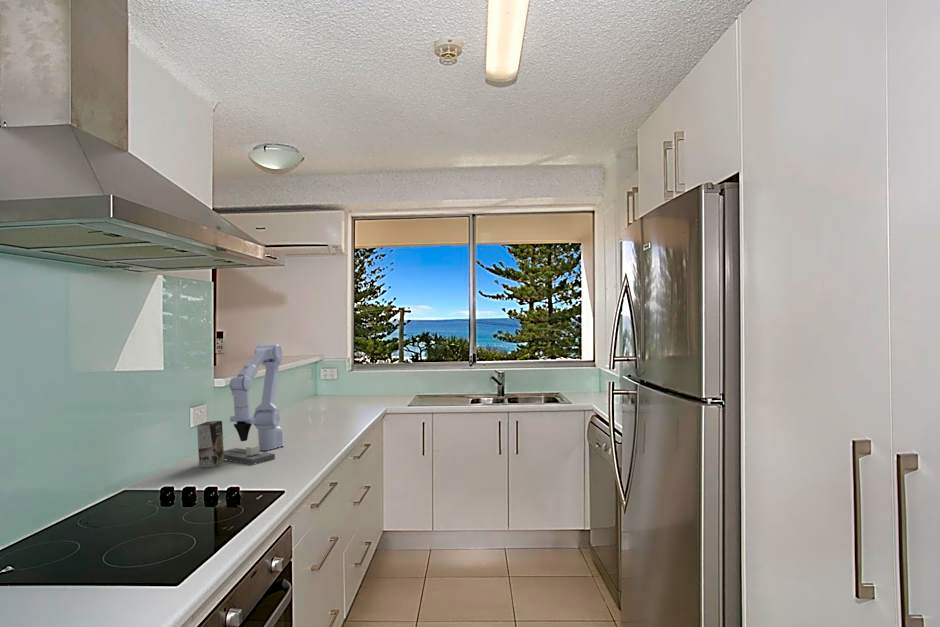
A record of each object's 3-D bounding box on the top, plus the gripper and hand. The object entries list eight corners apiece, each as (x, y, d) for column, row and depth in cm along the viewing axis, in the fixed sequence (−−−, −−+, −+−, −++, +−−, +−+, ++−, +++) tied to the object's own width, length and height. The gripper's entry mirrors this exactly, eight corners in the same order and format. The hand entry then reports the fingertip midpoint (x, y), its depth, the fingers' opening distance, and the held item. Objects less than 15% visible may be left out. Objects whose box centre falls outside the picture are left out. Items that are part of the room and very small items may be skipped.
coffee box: (215, 467, 245) (213, 424, 245) (198, 468, 245) (196, 425, 245) (225, 461, 254) (222, 420, 254) (208, 462, 254) (206, 421, 254)
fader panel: (236, 452, 269) (236, 447, 269) (274, 458, 254) (274, 453, 254) (214, 457, 261) (214, 452, 261) (252, 464, 246) (252, 459, 246)
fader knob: (255, 452, 256) (255, 444, 256) (260, 453, 254) (259, 445, 254) (246, 454, 253) (245, 446, 253) (250, 455, 251) (250, 447, 251)
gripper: (222, 407, 258) (224, 441, 258) (243, 409, 249) (245, 444, 250) (237, 404, 264) (240, 437, 264) (259, 406, 255) (261, 440, 255)
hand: (243, 440), depth 257 cm, fingers closed
